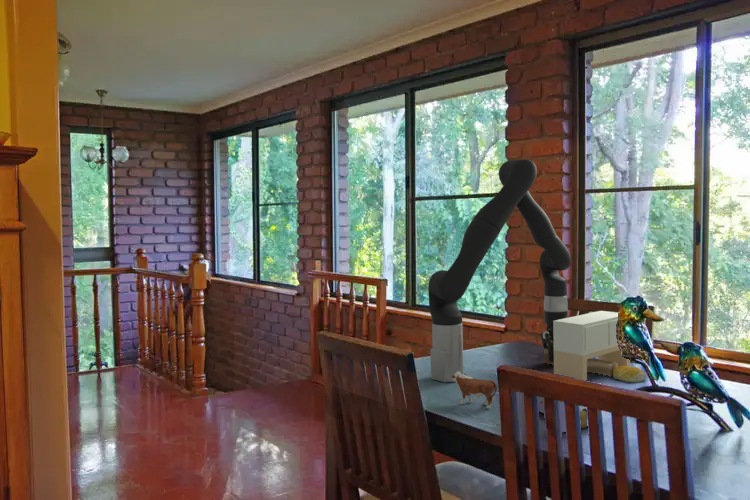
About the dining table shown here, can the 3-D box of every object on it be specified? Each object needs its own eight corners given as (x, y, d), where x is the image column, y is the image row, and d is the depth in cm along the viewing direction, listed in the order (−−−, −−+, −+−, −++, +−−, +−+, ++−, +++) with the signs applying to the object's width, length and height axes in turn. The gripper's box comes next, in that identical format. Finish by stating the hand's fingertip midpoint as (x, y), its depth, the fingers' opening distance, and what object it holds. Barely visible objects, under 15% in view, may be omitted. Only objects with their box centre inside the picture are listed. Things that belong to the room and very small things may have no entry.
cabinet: (584, 384, 180) (584, 324, 179) (554, 377, 188) (553, 320, 187) (631, 369, 196) (631, 314, 195) (601, 363, 205) (601, 310, 204)
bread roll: (626, 374, 192) (626, 361, 191) (649, 380, 183) (649, 367, 183) (605, 377, 188) (605, 364, 188) (629, 384, 180) (629, 370, 180)
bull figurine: (455, 398, 171) (455, 369, 170) (499, 406, 162) (499, 376, 162) (447, 402, 167) (446, 372, 167) (491, 411, 159) (491, 379, 158)
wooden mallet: (610, 376, 188) (610, 350, 188) (544, 363, 207) (543, 339, 206) (617, 374, 190) (617, 348, 190) (551, 361, 209) (551, 338, 209)
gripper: (552, 312, 197) (553, 366, 198) (578, 307, 206) (578, 358, 207) (533, 310, 203) (533, 362, 204) (558, 305, 212) (559, 355, 213)
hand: (556, 360), depth 205 cm, fingers closed on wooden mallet, 4 cm apart
